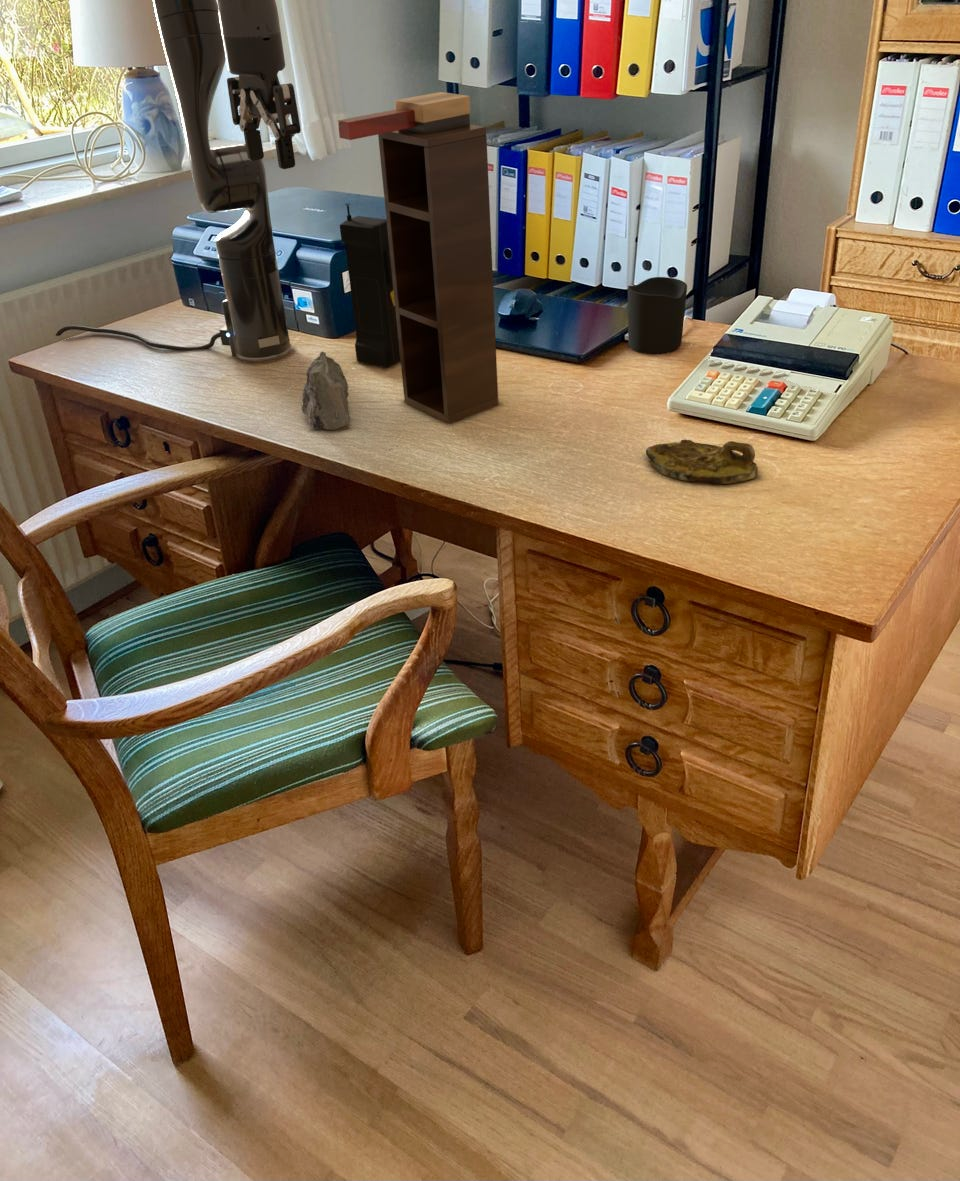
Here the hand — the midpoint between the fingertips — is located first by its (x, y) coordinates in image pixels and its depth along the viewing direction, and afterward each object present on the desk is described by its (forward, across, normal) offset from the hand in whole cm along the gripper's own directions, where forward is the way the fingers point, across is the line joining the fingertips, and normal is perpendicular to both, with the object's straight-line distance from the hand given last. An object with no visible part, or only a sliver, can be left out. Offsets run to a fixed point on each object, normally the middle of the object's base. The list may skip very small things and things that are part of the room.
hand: (271, 163), depth 142 cm
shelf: (+34, +19, +14) cm, 41 cm away
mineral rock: (+34, +9, -1) cm, 36 cm away
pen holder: (+34, +26, +52) cm, 67 cm away
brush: (-5, +19, +9) cm, 22 cm away
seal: (+34, +59, +24) cm, 72 cm away
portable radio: (+34, -3, +17) cm, 38 cm away
